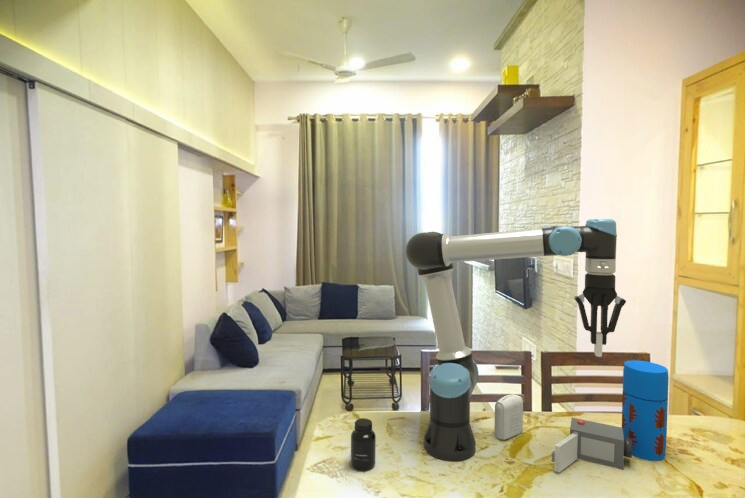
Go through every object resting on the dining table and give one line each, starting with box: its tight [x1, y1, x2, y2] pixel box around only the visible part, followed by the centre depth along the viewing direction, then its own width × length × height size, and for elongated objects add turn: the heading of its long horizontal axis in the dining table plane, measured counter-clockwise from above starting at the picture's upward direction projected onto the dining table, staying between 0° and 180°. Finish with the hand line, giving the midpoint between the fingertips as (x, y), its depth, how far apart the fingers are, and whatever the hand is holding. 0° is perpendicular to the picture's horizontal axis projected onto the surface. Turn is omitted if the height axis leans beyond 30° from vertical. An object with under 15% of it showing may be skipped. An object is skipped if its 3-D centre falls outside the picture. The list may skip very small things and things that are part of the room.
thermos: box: [621, 359, 670, 462], centre depth 116 cm, size 11×11×25 cm
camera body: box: [569, 417, 633, 471], centre depth 113 cm, size 15×8×9 cm, turn 61°
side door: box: [551, 432, 579, 474], centre depth 109 cm, size 11×2×8 cm, turn 128°
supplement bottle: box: [350, 417, 377, 472], centre depth 110 cm, size 7×7×12 cm
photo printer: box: [494, 394, 524, 441], centre depth 126 cm, size 10×4×12 cm, turn 123°
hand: (598, 355), depth 115 cm, fingers closed
